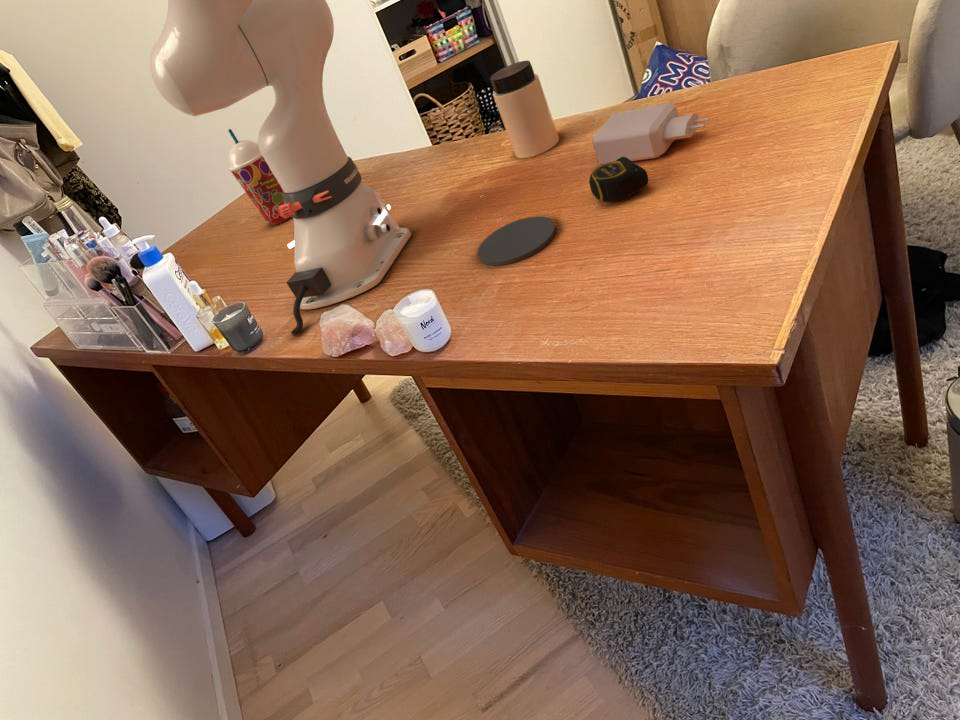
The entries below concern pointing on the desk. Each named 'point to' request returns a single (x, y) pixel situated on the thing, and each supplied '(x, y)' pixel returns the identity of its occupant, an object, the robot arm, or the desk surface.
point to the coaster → (517, 241)
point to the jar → (527, 119)
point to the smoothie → (256, 179)
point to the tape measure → (617, 180)
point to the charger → (643, 133)
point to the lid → (512, 77)
